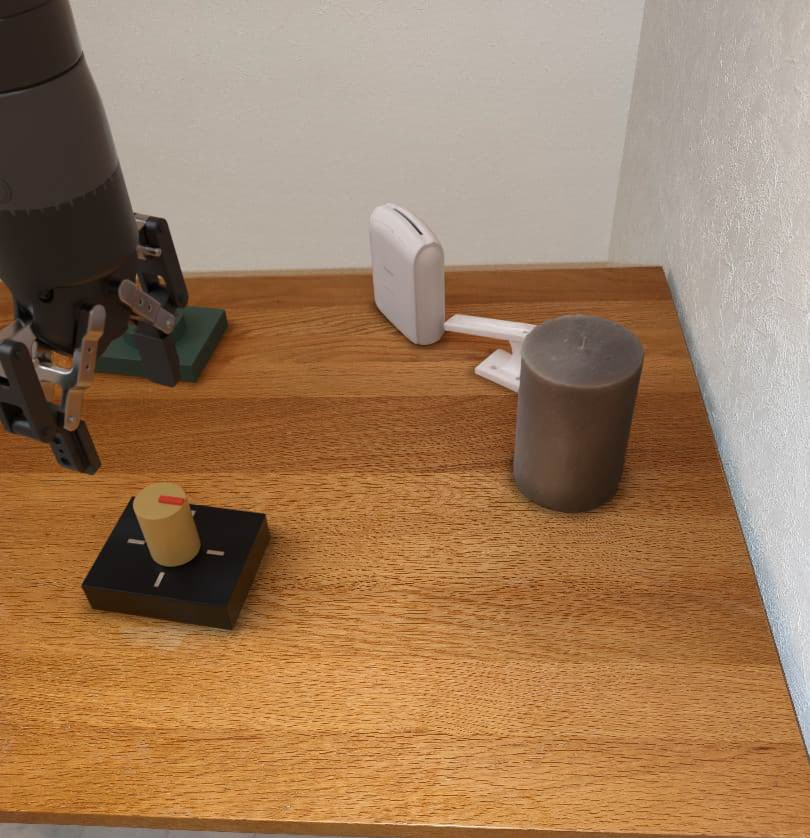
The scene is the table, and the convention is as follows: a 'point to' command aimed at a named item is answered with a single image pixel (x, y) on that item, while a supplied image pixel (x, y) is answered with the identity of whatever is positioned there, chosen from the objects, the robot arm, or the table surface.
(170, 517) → the lock knob
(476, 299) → the table surface
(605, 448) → the pillar candle
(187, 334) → the block
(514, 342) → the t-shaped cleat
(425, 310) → the photo printer
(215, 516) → the plate
